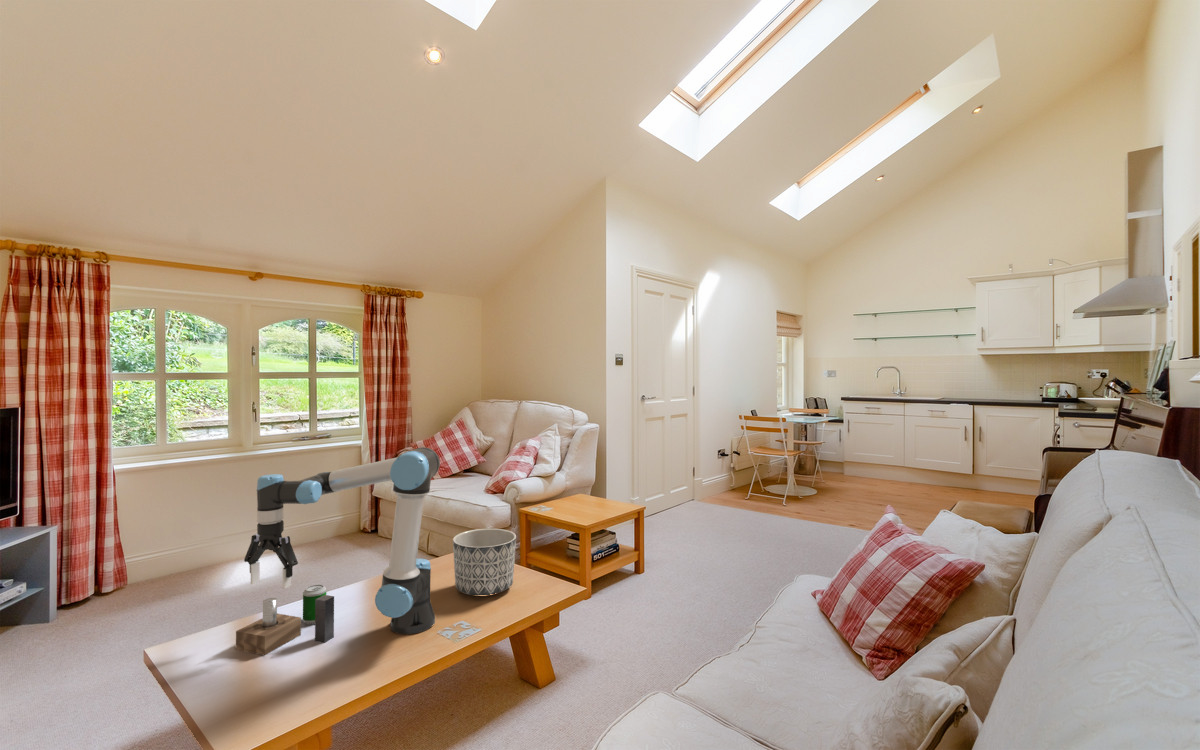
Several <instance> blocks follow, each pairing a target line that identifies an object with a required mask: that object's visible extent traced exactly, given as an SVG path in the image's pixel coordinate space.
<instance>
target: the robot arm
mask: <svg viewBox="0 0 1200 750" xmlns="http://www.w3.org/2000/svg"><path fill="white" fill-rule="evenodd" d="M440 467H441V461H440V457H439V455H438V454H437V452H436V451H435V450H434V449H432V448H429V447H418V448H415V449H413V450H408V451H406V452H403V453H401V454H400V455H399V456H398V457H393V458H387V459H383V460H379V461H374V462H369V463H365V464H361V465H356V466H351V467H345V468H341V469H336V470H333V471H324V472H319V473H317V474H314V475H312V476H309V477H307V478H303V479H301V480H284V475H282V474H279V473H274V474H271V473H270V474H266V475H265V474H264V475H261V476H259V477H258V478H257V483H256V484H257V485H256V496H257V497H256V500H257V501H256V502H257V504H256V505H257V506H256V507H257V508H256V509H257V510H256V522H257V523H258V524H257V527H256V528H257V529H256V530H257V533H256V534H253V535H251V541H250V543H249V546H248V549H247V552H246V554H245V557H244V559H243V561H244V562H245V563H246V562H247V563H248V565H249V574H250V585H255V584H256V583H260V581H261V580H260V578H261V577H260V566H261V565H260V562H259V561H260V560H259V559H260V558H261V557H262V555H263V554H264V552H265V551H267V550H269V551H272V552H273V553H275V554H276V556H277V558H278V559H279V561H280V563H281V564H282V565H283V568H282V589H287V588H289V587H291V586H292V577H293V573H294V572H293V567H294V566H296V565H298V564H299V562H298V560H297V556H296V554H295V552H294V549H293V546H292V543H291V537H290V536H289V535H288V536H285V537H284V536H282V533H283V531H284V530H285V529H284V523H285V522H284V520H283V519H284V505H287V504H288V505H291V504H293V505H297V504H299V505H301V504H302V505H309V504H315V503H317V502H319V500H320V499H321V496H324V495H328V494H333V493H336V492H337V493H338V492H341V491H345V490H350V489H351V490H352V489H355V488H356V489H357V488H361V487H364V486H369V485H370V486H371V485H375V484H381V483H385V482H389V481H391V482H393V487H392V491H393V493H394V494H395V495H396V502H395V511H394V520H393V526H392V527H393V528H392V529H393V530H392V535H391V545H390V553H389V554H390V555H389V561H388V566H387V567H386V568H385V569H384V570H383V572H382V579H381V586H380V588H379V589H378V590H377V592H376V594H375V598H374V605H375V606H376V608H377V610H378V611H379V612H380V613H381V614H382V615H383V616H385V617H387V618H391V620H390V630H391V631H392V632H393V633H396V634H399V635H411V634H412V635H414V634H419V633H422V632H425V631H427V630H429V629H431V628H432V627H433V626H434V625H435V623H436V614H435V612H434V609H433V606H432V602H431V575H432V574H431V573H432V567H431V561H429V560H428V559H425V558H418V551H419V542H420V533H421V525H422V517H423V509H424V501H425V497H426V496H427V495H429V493H430V491H431V490H430V489H431V481H432V478H433V477H434V476H436V474H437V473H438V472H439V469H440ZM433 624H434V625H433ZM432 625H433V626H432ZM431 626H432V627H431ZM430 627H431V628H430Z"/></svg>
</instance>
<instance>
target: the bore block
mask: <svg viewBox="0 0 1200 750" xmlns="http://www.w3.org/2000/svg"><path fill="white" fill-rule="evenodd" d="M301 628H302V617H301V616H295V615H289V614H282V613H277V625H275V626H272V627H269V628H263V617H261V618H260V619H258V620H256V621H254V622H252V623H250V624H248V625H245V626H243V627H242V628H240V629H238V630H235V650H237V651H241V652H246V653H250V654H251V653H252V654H257V655H263V656H266V655H268V654H269V653H271V652H273V651H275V650H276V649H278V648H280V647H282V646H284V645H286V644H287V643H289V642H291V641H293V640H295V639H296V638H298V637H300V636H301V635H302V629H301Z"/></svg>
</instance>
